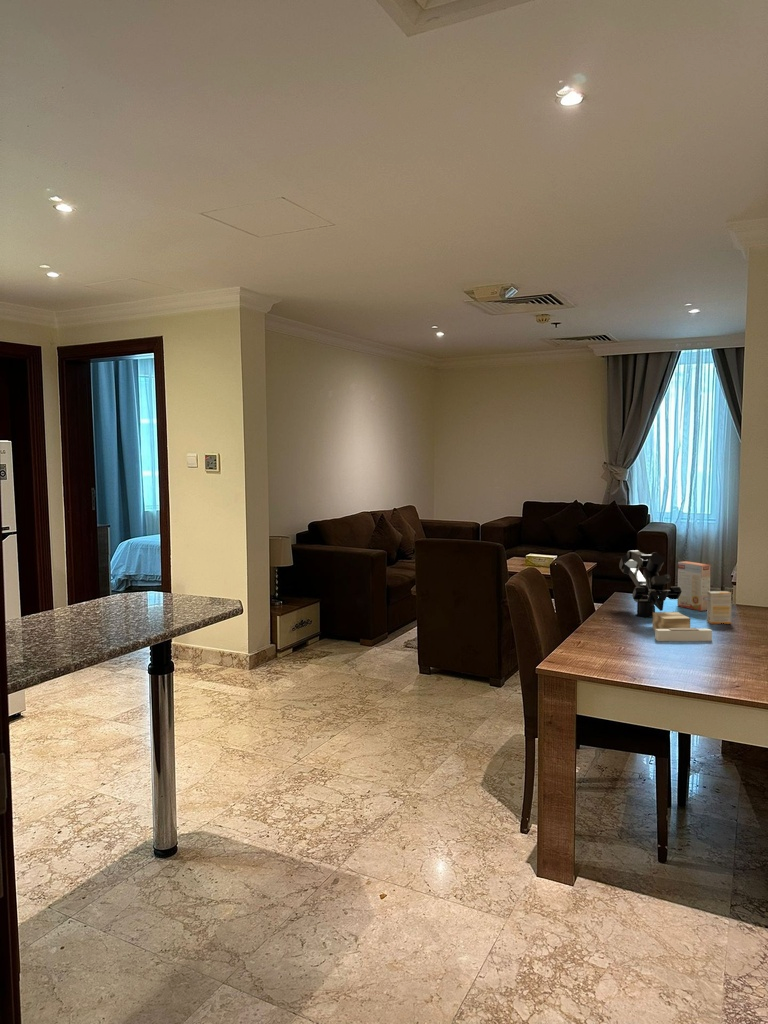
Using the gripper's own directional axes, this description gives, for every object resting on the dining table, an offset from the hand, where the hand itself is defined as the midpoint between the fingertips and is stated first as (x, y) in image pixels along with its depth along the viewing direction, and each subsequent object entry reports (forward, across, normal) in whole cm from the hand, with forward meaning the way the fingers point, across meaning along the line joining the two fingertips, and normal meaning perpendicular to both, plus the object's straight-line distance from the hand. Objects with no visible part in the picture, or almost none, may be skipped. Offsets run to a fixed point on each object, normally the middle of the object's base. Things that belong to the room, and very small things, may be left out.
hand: (661, 610), depth 292 cm
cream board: (+21, 0, -12) cm, 24 cm away
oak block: (+12, 0, -3) cm, 13 cm away
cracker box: (-20, +27, +30) cm, 45 cm away
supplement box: (+1, +26, +9) cm, 27 cm away
